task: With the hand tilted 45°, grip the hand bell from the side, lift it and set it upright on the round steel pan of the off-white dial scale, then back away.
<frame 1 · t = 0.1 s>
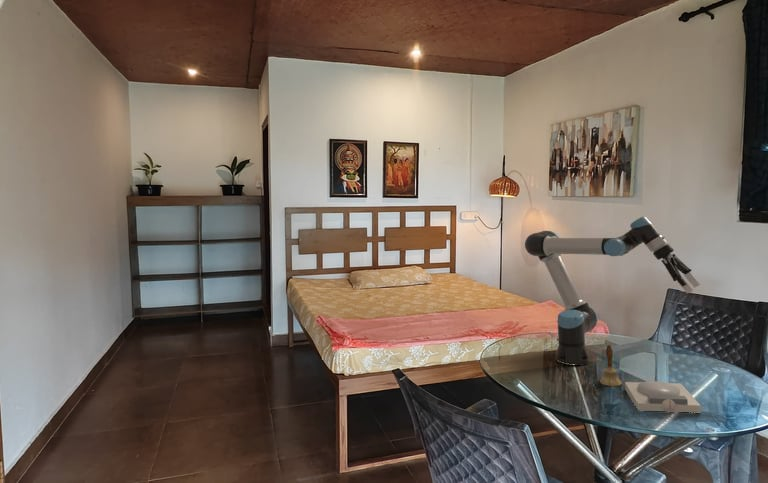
hand: (694, 289, 202), 36 cm above the table, fingers open, 13 cm apart
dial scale: (660, 400, 180), on the table
hand bell: (610, 382, 200), on the table
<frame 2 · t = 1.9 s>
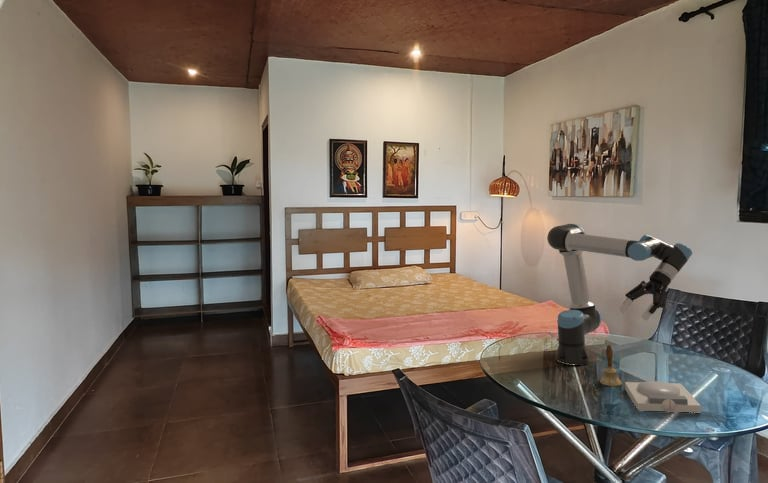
hand: (632, 315, 200), 27 cm above the table, fingers open, 13 cm apart
nothing on the table moved.
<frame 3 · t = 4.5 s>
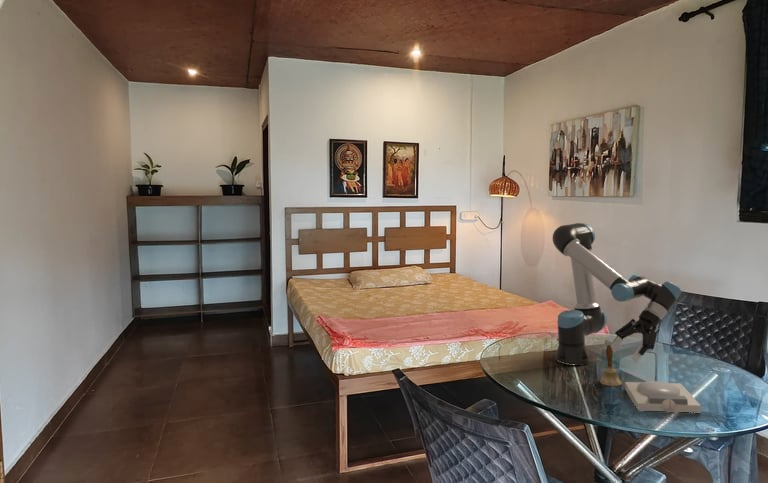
hand: (622, 355, 199), 12 cm above the table, fingers open, 13 cm apart
nothing on the table moved.
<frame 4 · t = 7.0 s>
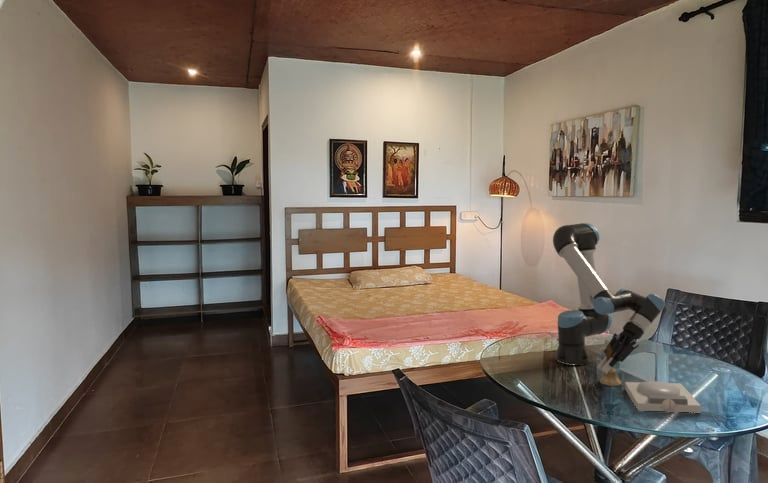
hand: (601, 370, 199), 6 cm above the table, fingers closed on hand bell, 2 cm apart
hand bell: (610, 382, 201), on the table, touching gripper
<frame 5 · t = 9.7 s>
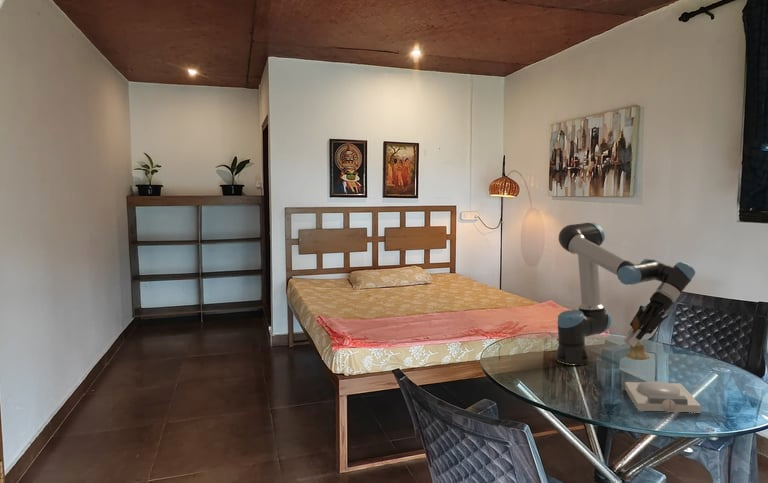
hand: (628, 343, 187), 20 cm above the table, fingers closed on hand bell, 2 cm apart
hand bell: (637, 356, 188), point 14 cm above the table, touching gripper
when the fingers open (11 cm above the table, at t = 12.2 s): hand bell drops 1 cm, resting on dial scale.
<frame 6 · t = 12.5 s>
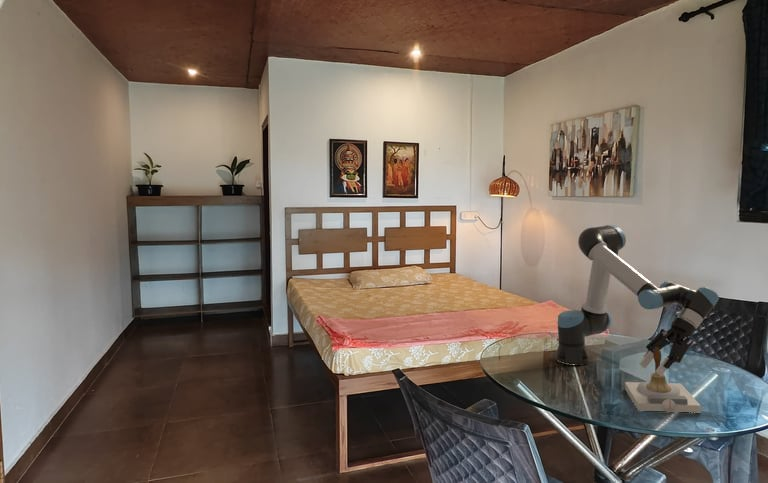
hand: (650, 369, 181), 12 cm above the table, fingers open, 8 cm apart
hand bell: (658, 388, 182), point 4 cm above the table, touching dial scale
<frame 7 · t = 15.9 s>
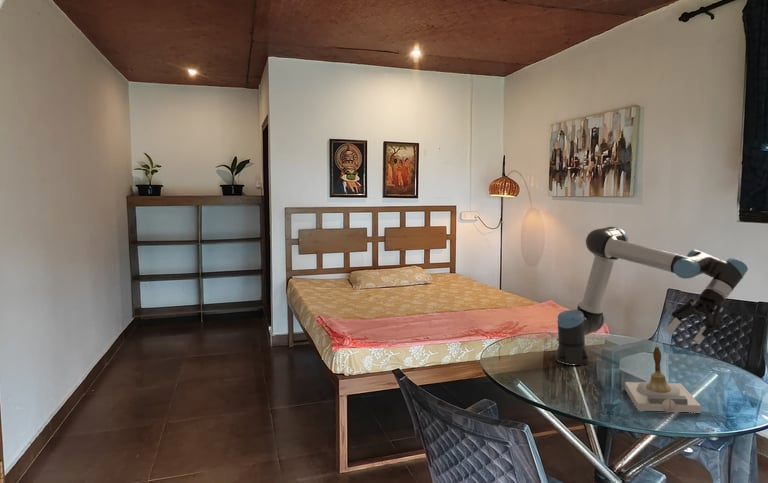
hand: (681, 337, 182), 23 cm above the table, fingers open, 13 cm apart
nothing on the table moved.
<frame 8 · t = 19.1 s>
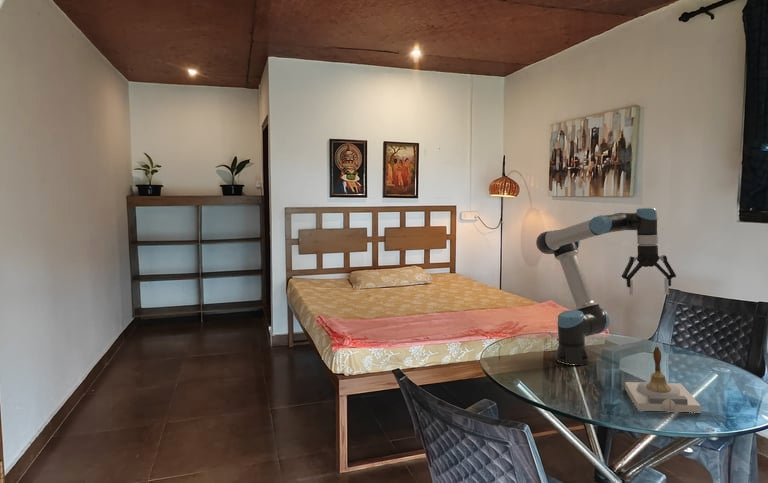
hand: (648, 294, 203), 35 cm above the table, fingers open, 13 cm apart
nothing on the table moved.
at the end: hand bell inside the target area on the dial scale (0.0 cm from its centre), point 3.8 cm above the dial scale's base; hand bell tilted 0°; the gripper is holding nothing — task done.
